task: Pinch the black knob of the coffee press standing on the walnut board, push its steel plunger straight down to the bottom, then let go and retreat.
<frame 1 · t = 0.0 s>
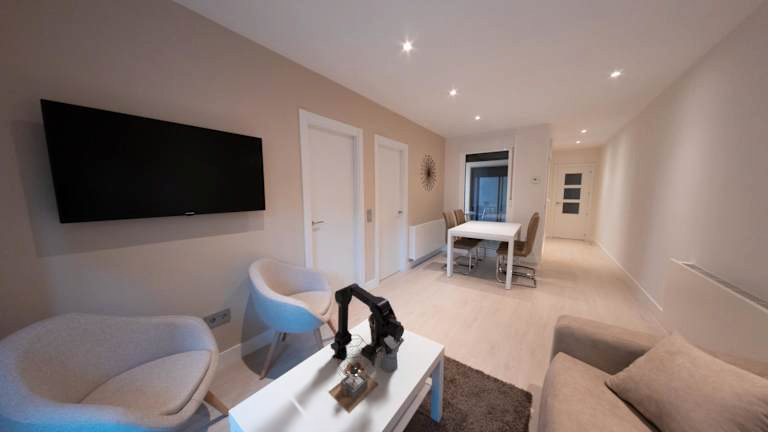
hand: (380, 360, 103), 15 cm above the table, fingers open, 9 cm apart
moka pot: (388, 367, 117), on the table
plunger: (354, 375, 103), point 7 cm above the table, slide at 0.0 cm
press: (354, 388, 104), resting on board
board: (354, 389, 104), on the table
plant pot: (382, 344, 133), on the table
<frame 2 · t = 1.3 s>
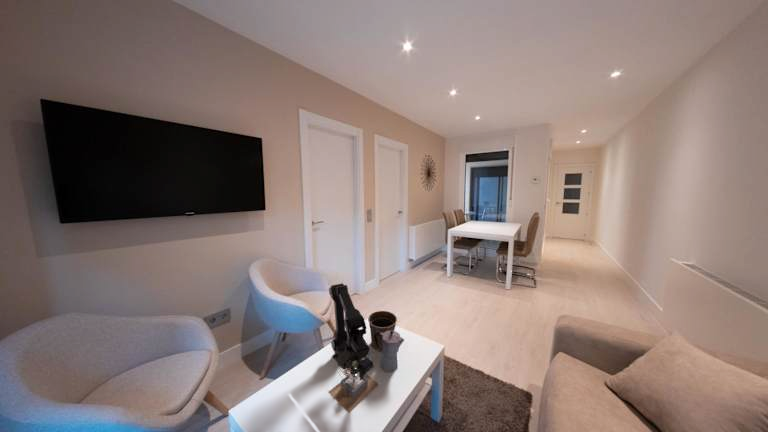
hand: (354, 373, 103), 8 cm above the table, fingers open, 9 cm apart
nothing on the table moved.
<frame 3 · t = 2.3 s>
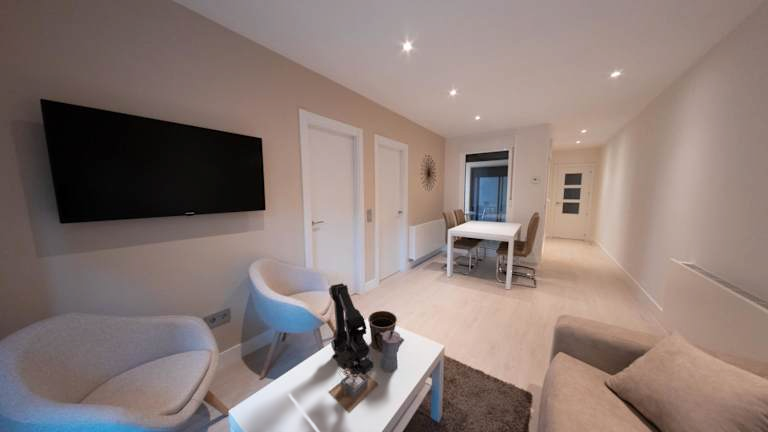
hand: (354, 373, 103), 8 cm above the table, fingers closed on plunger, 3 cm apart
plunger: (354, 375, 103), point 7 cm above the table, slide at 0.0 cm, touching gripper
everything else where it was.
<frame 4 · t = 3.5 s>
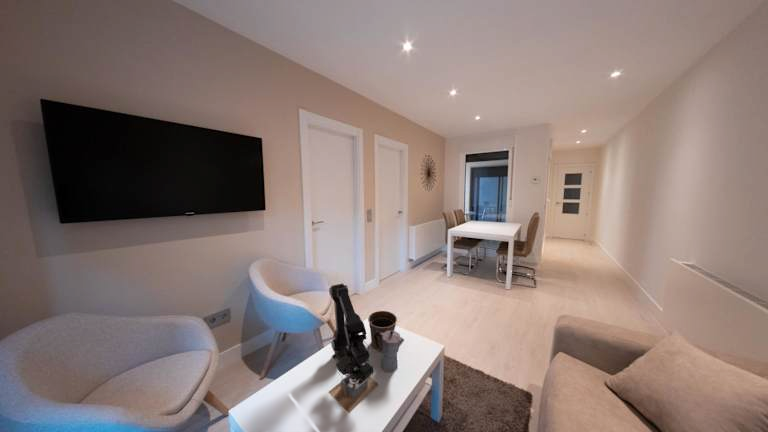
hand: (354, 378, 103), 6 cm above the table, fingers closed on plunger, 3 cm apart
plunger: (354, 380, 104), point 5 cm above the table, slide at 2.5 cm, touching gripper
everything else where it was.
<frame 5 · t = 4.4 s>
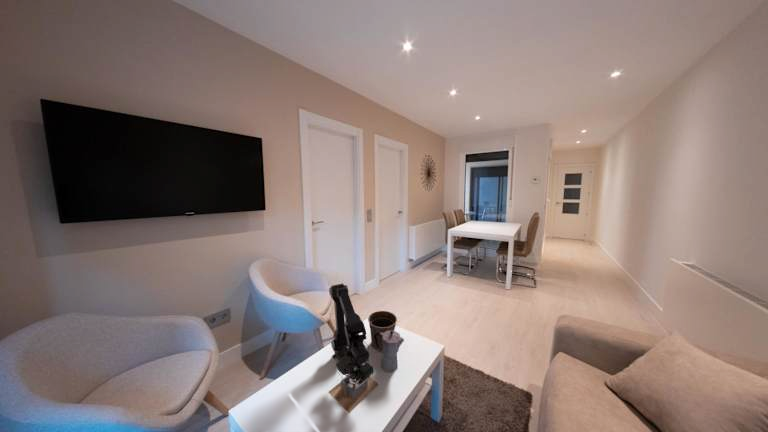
hand: (354, 378, 103), 6 cm above the table, fingers open, 4 cm apart
plunger: (354, 380, 104), point 5 cm above the table, slide at 2.5 cm
everything else where it was.
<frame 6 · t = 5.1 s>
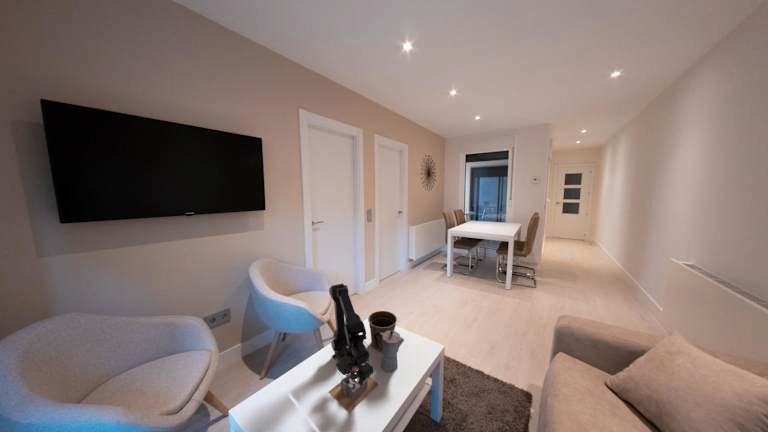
hand: (354, 378, 103), 6 cm above the table, fingers open, 9 cm apart
nothing on the table moved.
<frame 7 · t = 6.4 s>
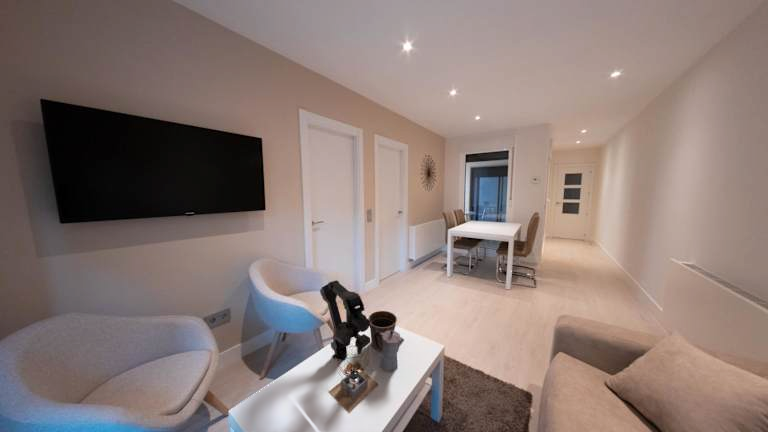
hand: (352, 349, 112), 12 cm above the table, fingers open, 9 cm apart
nothing on the table moved.
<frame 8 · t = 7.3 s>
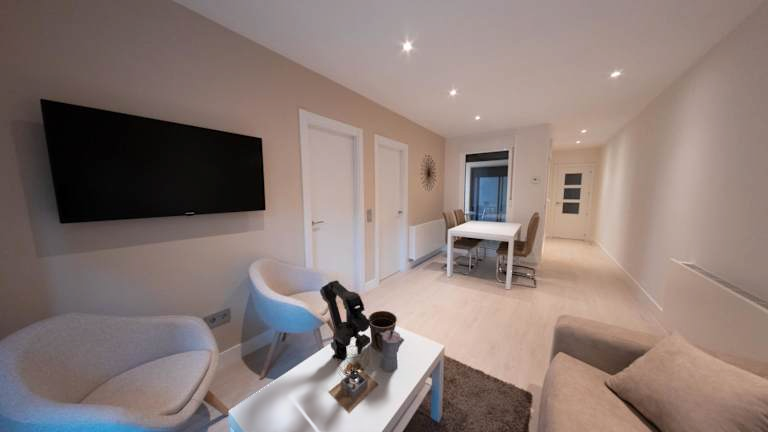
hand: (352, 349, 112), 12 cm above the table, fingers open, 9 cm apart
nothing on the table moved.
at the end: plunger slide at 2.5 cm; the gripper is holding nothing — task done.
